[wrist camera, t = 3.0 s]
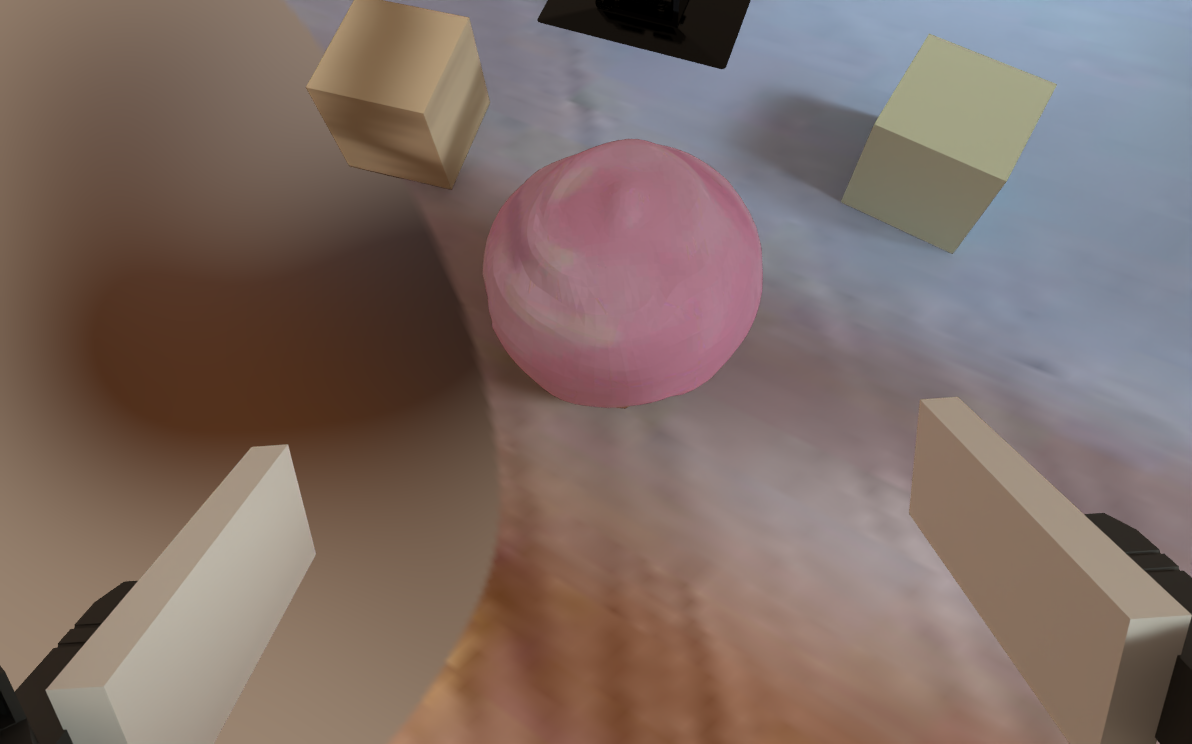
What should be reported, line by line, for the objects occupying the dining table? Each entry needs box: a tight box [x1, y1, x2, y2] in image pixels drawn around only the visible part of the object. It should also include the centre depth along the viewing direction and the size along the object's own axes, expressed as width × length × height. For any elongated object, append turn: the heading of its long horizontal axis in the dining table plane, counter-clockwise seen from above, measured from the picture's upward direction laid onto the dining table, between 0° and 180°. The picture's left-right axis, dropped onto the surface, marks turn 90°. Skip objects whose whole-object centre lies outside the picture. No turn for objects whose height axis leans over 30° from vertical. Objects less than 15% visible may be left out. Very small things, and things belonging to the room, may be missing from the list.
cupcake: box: [482, 139, 763, 409], centre depth 26 cm, size 9×9×10 cm
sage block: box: [841, 34, 1057, 254], centre depth 31 cm, size 5×5×5 cm
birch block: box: [306, 0, 490, 190], centre depth 33 cm, size 5×5×5 cm
